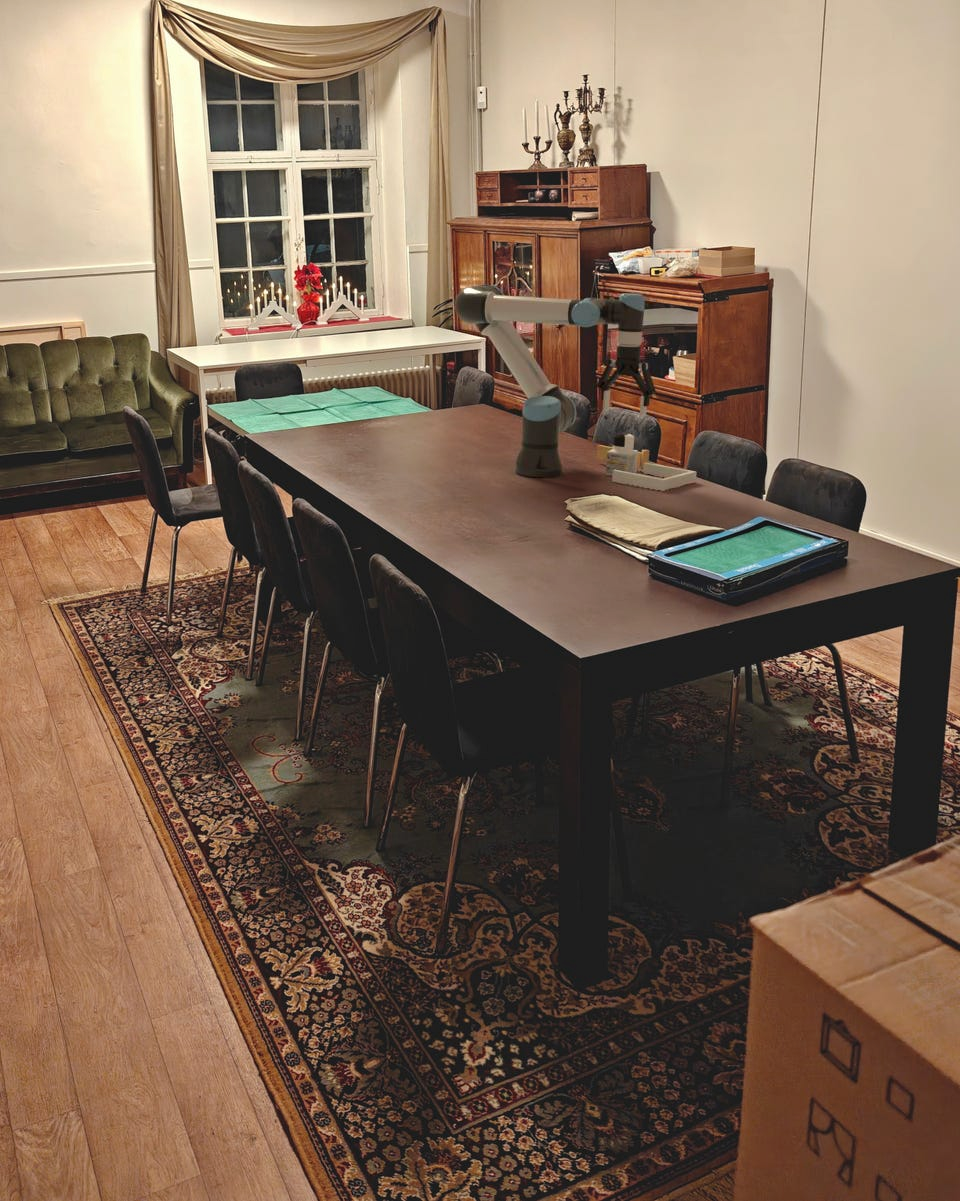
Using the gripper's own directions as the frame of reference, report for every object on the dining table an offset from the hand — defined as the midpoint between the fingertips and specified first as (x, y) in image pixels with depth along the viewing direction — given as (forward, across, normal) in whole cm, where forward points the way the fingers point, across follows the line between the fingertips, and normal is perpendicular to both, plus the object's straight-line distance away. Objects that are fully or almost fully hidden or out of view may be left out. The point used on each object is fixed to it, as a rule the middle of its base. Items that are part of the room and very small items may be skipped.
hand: (624, 414), depth 360 cm
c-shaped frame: (+19, -15, +4) cm, 24 cm away
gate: (+18, +4, -8) cm, 20 cm away
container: (+19, -2, +2) cm, 19 cm away
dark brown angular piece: (+19, -4, -8) cm, 21 cm away
